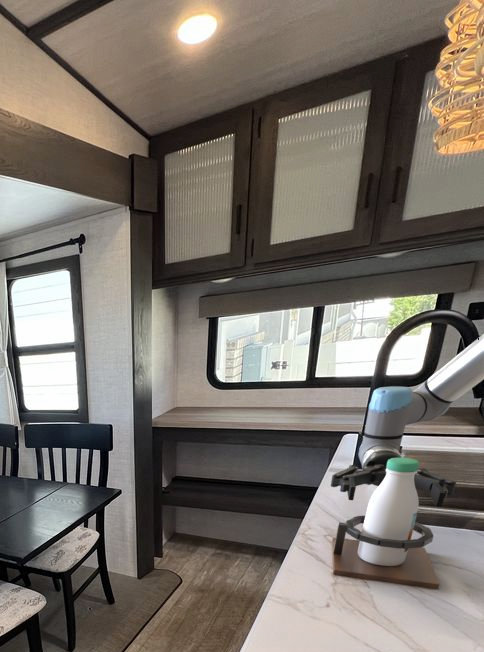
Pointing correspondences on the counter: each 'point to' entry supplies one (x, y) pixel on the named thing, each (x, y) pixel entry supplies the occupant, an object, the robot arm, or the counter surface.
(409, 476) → the milk bottle
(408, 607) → the counter surface
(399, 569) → the ring holder
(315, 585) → the counter surface
